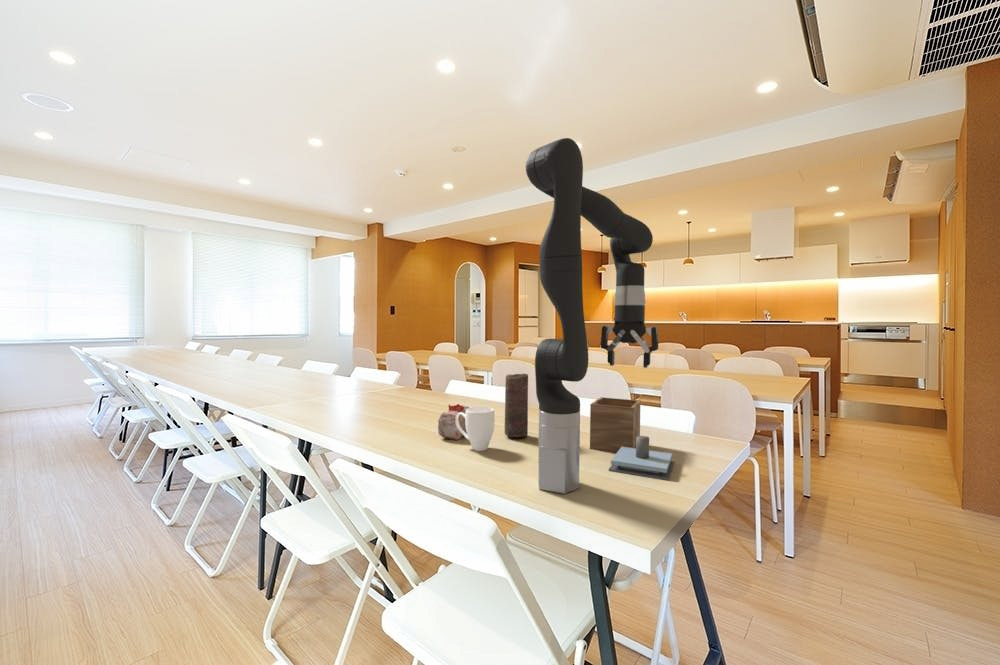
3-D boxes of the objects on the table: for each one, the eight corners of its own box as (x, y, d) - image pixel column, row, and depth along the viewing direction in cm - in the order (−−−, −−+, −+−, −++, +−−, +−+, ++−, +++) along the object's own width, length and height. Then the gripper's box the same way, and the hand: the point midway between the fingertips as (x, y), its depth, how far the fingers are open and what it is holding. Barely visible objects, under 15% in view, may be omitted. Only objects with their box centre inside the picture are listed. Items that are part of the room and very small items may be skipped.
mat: (668, 480, 102) (668, 478, 102) (608, 470, 109) (608, 469, 109) (674, 462, 115) (674, 461, 115) (620, 454, 121) (620, 453, 121)
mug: (498, 446, 128) (499, 408, 128) (487, 454, 121) (487, 413, 120) (462, 441, 133) (462, 404, 133) (449, 449, 125) (448, 410, 125)
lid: (666, 477, 103) (666, 447, 103) (610, 468, 109) (611, 440, 109) (671, 461, 115) (672, 434, 114) (621, 453, 121) (621, 428, 120)
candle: (528, 440, 135) (528, 375, 134) (504, 440, 135) (504, 375, 134) (527, 433, 142) (527, 372, 141) (504, 433, 142) (504, 372, 141)
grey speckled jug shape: (460, 441, 133) (460, 409, 133) (436, 440, 135) (436, 408, 135) (473, 430, 147) (473, 401, 146) (451, 428, 148) (451, 400, 148)
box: (632, 454, 121) (633, 408, 121) (589, 448, 127) (590, 404, 126) (639, 443, 132) (640, 400, 131) (600, 438, 137) (600, 397, 137)
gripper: (598, 303, 113) (597, 366, 114) (656, 303, 107) (655, 369, 107) (605, 304, 120) (604, 363, 120) (660, 304, 113) (659, 366, 114)
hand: (628, 366), depth 114 cm, fingers open, 8 cm apart
